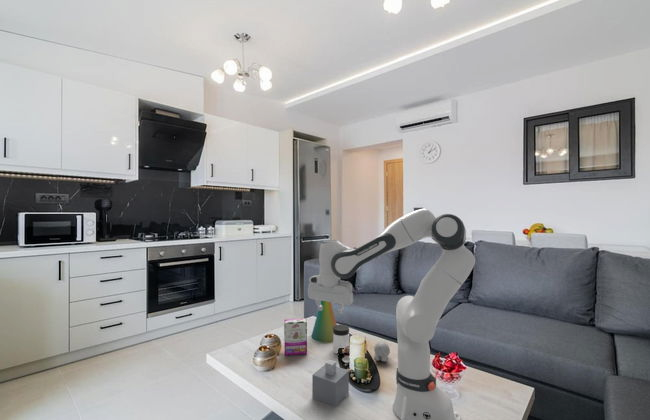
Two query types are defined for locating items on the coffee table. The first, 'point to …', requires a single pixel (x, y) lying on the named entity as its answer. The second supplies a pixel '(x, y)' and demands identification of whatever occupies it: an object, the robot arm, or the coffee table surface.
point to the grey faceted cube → (330, 384)
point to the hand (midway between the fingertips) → (330, 312)
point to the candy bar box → (295, 337)
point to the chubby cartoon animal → (381, 351)
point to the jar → (340, 337)
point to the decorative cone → (324, 324)
